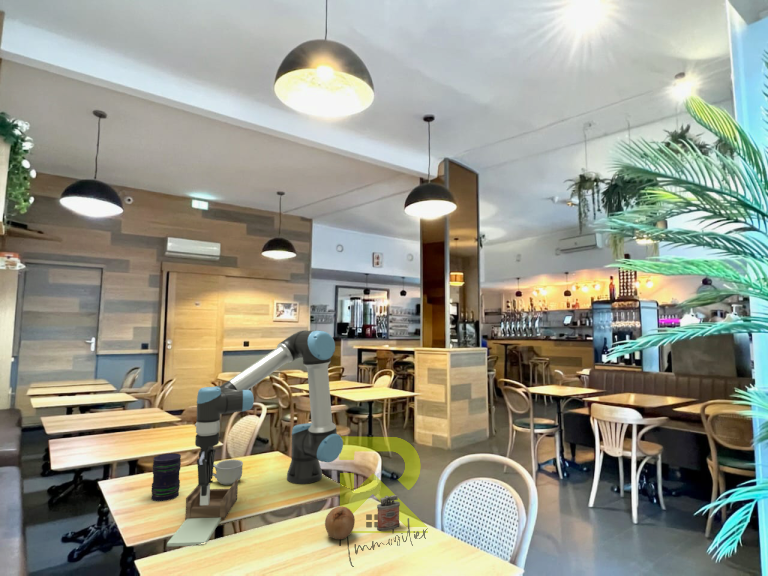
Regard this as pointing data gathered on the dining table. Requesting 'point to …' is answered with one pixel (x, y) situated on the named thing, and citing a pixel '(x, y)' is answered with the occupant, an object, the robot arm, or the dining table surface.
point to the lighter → (388, 513)
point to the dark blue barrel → (166, 477)
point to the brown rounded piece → (339, 522)
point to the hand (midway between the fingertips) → (204, 504)
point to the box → (211, 503)
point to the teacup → (228, 471)
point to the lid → (194, 531)
